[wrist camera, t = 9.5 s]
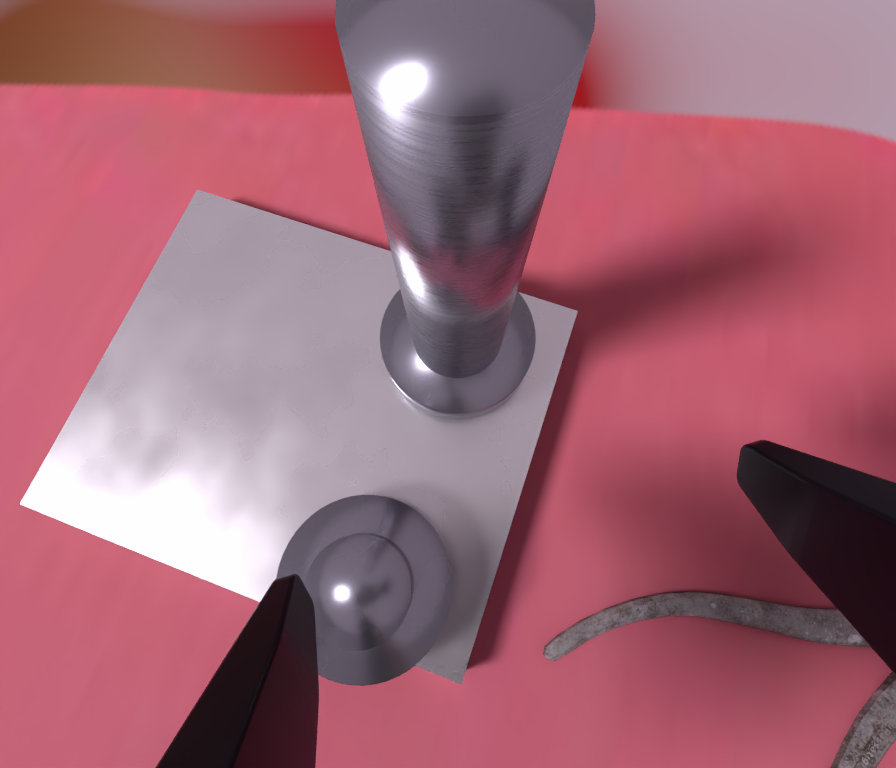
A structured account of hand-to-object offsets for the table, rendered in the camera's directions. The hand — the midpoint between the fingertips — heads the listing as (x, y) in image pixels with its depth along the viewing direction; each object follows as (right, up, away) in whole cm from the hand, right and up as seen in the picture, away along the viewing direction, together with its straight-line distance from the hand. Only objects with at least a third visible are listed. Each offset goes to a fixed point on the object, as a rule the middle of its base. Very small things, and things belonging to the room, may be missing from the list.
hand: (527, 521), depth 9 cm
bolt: (-1, +4, +9) cm, 10 cm away
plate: (-7, +2, +10) cm, 12 cm away
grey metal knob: (-4, -4, +7) cm, 9 cm away
